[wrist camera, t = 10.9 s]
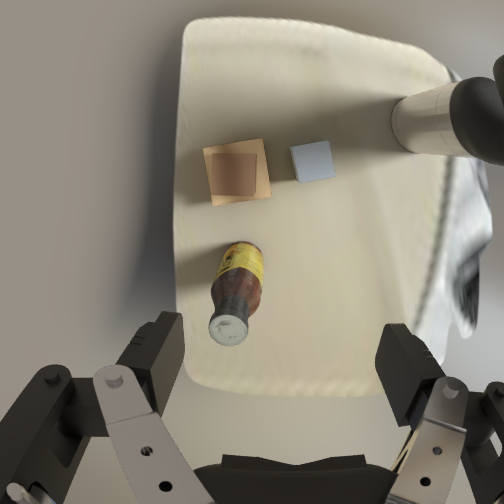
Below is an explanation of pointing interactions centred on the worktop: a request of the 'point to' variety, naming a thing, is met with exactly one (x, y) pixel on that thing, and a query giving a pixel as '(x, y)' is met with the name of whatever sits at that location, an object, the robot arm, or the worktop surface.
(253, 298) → the sauce bottle
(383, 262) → the worktop surface
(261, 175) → the oak block
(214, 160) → the walnut cube
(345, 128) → the worktop surface
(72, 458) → the robot arm
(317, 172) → the slate-blue cube
